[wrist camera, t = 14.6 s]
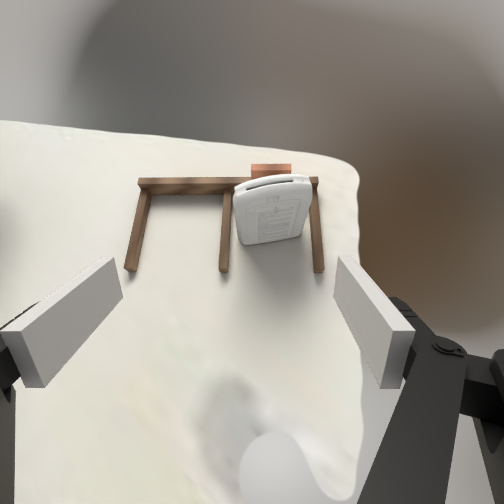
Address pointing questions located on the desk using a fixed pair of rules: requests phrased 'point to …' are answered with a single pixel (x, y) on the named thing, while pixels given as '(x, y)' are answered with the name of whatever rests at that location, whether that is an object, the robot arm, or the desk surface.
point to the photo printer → (271, 207)
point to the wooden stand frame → (227, 188)
